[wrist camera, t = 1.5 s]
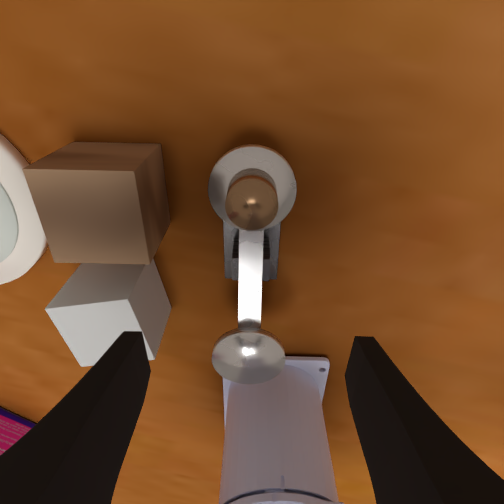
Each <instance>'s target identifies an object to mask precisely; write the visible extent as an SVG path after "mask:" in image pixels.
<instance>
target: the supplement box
mask: <svg viewBox="0 0 504 504" xmlns="http://www.w3.org/2000/svg"><path fill="white" fill-rule="evenodd" d="M35 425H36V424H35V423H33V422H31V421H29V420H27V419H24V418H22V417H20V416H18V415H16V414H13V413H11V412H9V411H7V410H5V409H3V408H1V407H0V455H1V454H3V453H4V452H5V451H6V450H7V449H9V448H10V447H11V446H12V445H13V444H15V443H16V442H17V441H18V440H19V439H20V438H21V437H23V436H24V435H25V434H26V433H27V432H28V431H29V430H30V429H32V428H33V427H34V426H35Z"/></svg>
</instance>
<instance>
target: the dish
mask: <svg viewBox="0 0 504 504" xmlns="http://www.w3.org/2000/svg"><path fill="white" fill-rule="evenodd" d="M28 165H29V163H28V162H27V161H26V159H25V158H24V157H23V156H22V155H21V153H20V152H19V151H18V150H17V149H16V148H15V147H14V146H13V145H12V144H11V143H10V142H9V141H8V140H7V139H6V138H5V137H4V136H3V135H1V134H0V284H4V283H7V282H10V281H12V280H15V279H17V278H19V277H20V276H22V275H23V274H25V273H26V272H27V271H28V270H29V269H30V268H31V267H32V266H33V265H34V264H35V263H36V262H37V261H38V260H39V259H40V258H41V257H42V255H43V254H44V253H45V251H46V249H47V247H48V242H47V239H46V236H45V233H44V231H43V228H42V225H41V222H40V219H39V216H38V213H37V210H36V208H35V205H34V202H33V199H32V196H31V193H30V190H29V187H28V185H27V182H26V179H25V176H24V173H23V170H22V169H23V168H25V167H26V166H28Z"/></svg>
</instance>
